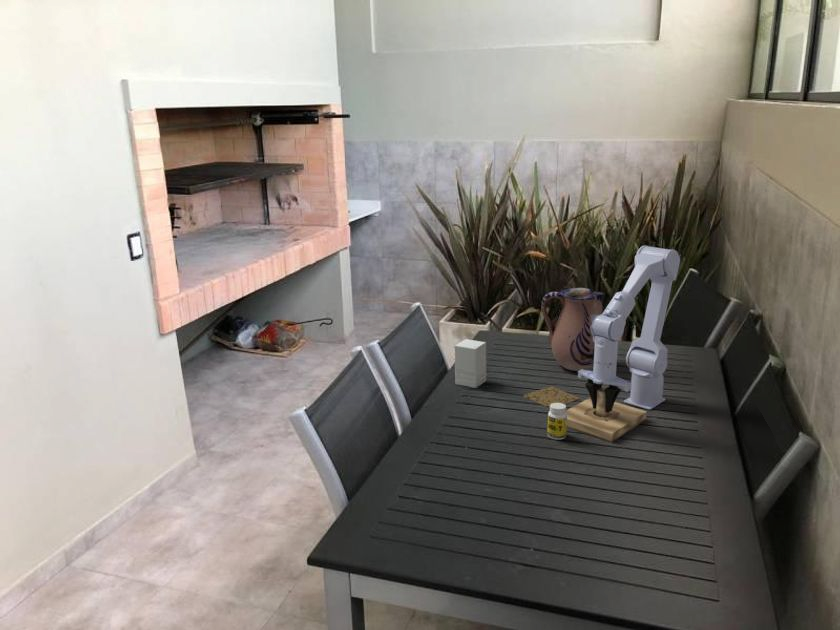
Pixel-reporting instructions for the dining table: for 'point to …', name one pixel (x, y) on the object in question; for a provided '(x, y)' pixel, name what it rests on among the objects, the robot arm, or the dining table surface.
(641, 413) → the bore board
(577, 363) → the ceramic pitcher
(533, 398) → the cookie
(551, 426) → the supplement bottle
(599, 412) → the dowel
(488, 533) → the dining table surface
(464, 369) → the supplement box
